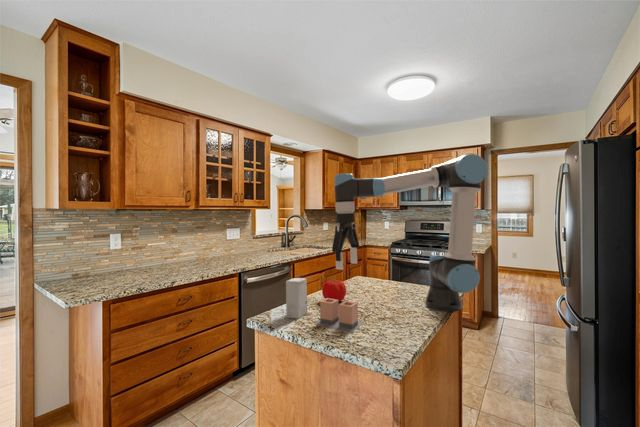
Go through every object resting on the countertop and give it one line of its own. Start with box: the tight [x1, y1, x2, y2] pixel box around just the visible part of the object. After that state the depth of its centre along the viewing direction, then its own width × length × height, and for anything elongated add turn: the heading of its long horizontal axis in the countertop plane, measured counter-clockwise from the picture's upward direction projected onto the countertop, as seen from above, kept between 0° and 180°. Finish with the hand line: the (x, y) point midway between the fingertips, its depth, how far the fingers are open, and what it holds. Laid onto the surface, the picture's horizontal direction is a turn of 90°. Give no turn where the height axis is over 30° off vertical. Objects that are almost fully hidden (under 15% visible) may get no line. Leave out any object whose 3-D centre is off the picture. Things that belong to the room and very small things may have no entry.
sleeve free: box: [319, 298, 340, 325], centre depth 118 cm, size 5×5×8 cm
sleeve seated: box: [339, 300, 359, 329], centre depth 114 cm, size 5×5×8 cm
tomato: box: [321, 278, 347, 302], centre depth 146 cm, size 12×12×10 cm
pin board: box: [313, 319, 365, 334], centre depth 116 cm, size 16×11×6 cm
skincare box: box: [285, 277, 308, 320], centre depth 127 cm, size 8×6×15 cm
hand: (347, 266), depth 123 cm, fingers open, 13 cm apart
